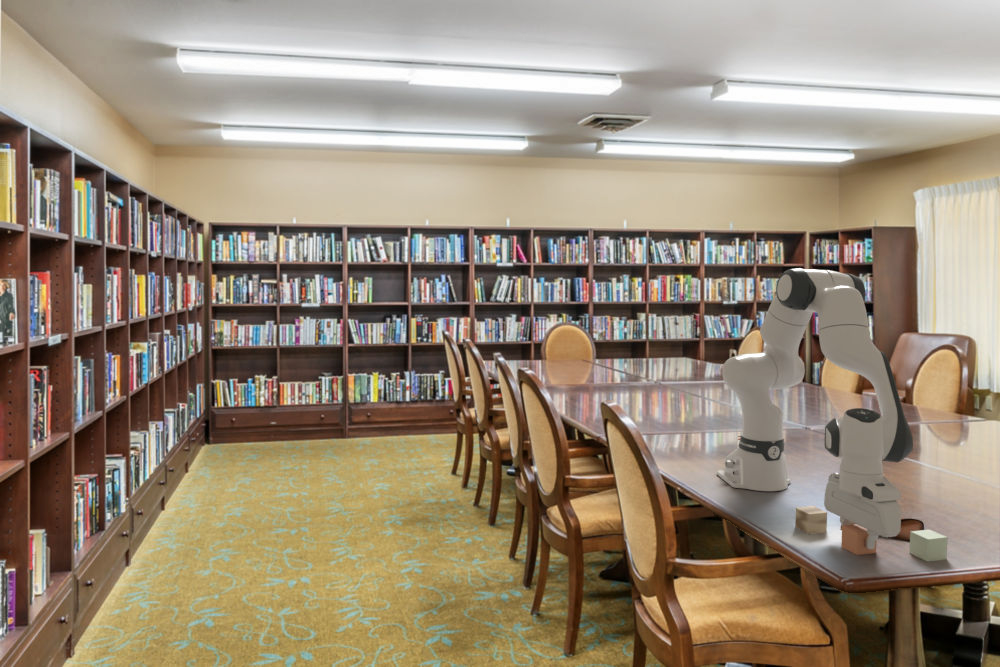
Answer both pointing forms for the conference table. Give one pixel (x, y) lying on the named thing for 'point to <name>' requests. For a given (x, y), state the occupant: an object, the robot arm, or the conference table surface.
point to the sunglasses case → (906, 528)
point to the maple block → (811, 520)
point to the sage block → (928, 545)
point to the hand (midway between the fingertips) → (858, 542)
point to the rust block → (855, 539)
